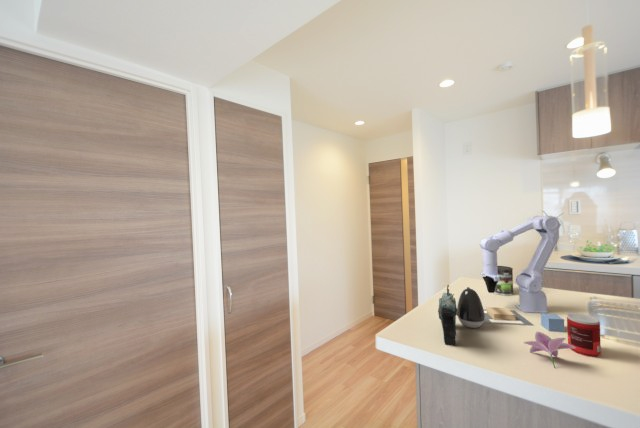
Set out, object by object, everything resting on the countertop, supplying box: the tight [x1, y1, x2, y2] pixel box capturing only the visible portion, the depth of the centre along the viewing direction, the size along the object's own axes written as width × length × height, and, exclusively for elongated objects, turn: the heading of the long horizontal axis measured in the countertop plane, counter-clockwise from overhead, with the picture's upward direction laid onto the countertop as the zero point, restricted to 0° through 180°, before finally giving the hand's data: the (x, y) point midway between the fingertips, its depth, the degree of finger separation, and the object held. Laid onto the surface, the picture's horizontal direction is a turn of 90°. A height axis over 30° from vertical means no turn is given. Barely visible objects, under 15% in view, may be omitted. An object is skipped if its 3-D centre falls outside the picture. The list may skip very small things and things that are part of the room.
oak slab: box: [486, 306, 515, 321], centre depth 115 cm, size 8×8×2 cm
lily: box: [523, 331, 576, 369], centre depth 81 cm, size 12×12×10 cm
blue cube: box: [540, 313, 565, 333], centre depth 102 cm, size 5×5×5 cm
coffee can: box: [493, 265, 514, 296], centre depth 146 cm, size 10×10×14 cm
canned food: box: [566, 312, 602, 358], centre depth 86 cm, size 8×8×11 cm
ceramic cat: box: [437, 284, 457, 347], centre depth 101 cm, size 20×6×20 cm, turn 154°
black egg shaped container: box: [456, 287, 485, 329], centre depth 108 cm, size 10×10×15 cm
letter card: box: [483, 308, 536, 327], centre depth 115 cm, size 18×16×1 cm
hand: (491, 292), depth 123 cm, fingers closed
